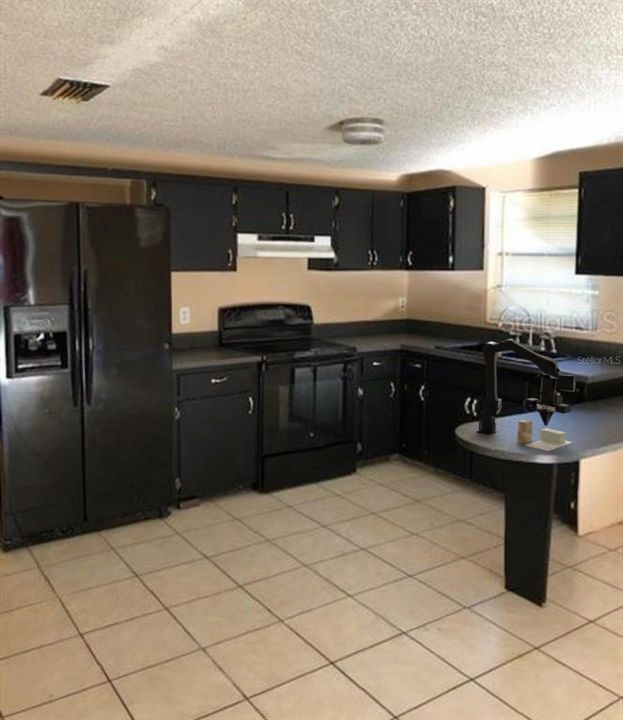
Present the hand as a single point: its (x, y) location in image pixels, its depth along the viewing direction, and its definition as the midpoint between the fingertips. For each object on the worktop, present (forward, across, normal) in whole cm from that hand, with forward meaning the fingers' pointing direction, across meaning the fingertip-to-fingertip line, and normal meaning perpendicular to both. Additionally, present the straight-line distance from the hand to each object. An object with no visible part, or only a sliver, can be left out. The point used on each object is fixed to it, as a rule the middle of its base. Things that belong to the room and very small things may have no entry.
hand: (545, 425), depth 290 cm
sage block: (+4, +1, 0) cm, 4 cm away
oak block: (+6, +3, +11) cm, 13 cm away
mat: (+6, -5, +6) cm, 10 cm away
